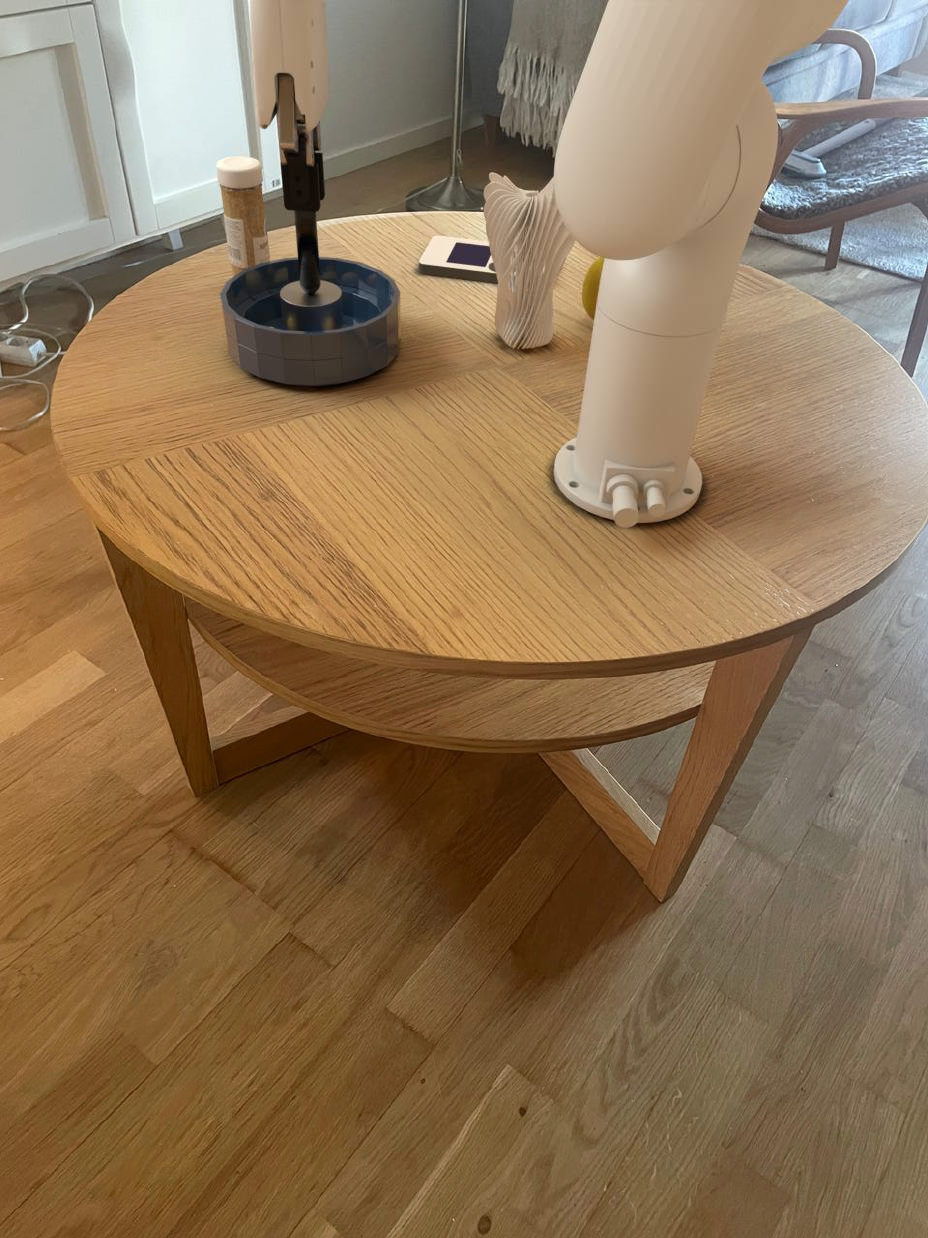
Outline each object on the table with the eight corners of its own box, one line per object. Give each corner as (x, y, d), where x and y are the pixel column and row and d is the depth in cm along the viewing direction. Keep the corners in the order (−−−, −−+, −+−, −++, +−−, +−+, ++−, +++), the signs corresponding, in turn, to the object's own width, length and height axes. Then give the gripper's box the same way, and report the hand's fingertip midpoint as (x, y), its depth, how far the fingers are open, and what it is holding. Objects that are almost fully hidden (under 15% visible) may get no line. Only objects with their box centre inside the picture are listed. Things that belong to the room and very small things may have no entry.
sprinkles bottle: (279, 294, 103) (266, 166, 93) (239, 300, 101) (222, 171, 92) (266, 278, 105) (253, 152, 96) (227, 284, 104) (210, 156, 95)
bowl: (391, 397, 88) (390, 339, 83) (211, 387, 88) (201, 328, 83) (406, 316, 100) (406, 261, 96) (248, 306, 100) (241, 251, 96)
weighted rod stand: (338, 336, 90) (329, 150, 78) (277, 333, 90) (258, 146, 78) (346, 309, 94) (338, 129, 83) (288, 306, 94) (271, 125, 83)
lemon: (626, 340, 98) (639, 266, 92) (574, 333, 99) (584, 259, 93) (630, 318, 102) (642, 245, 96) (580, 311, 103) (590, 239, 97)
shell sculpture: (469, 330, 98) (479, 148, 86) (540, 320, 101) (558, 142, 88) (499, 366, 93) (514, 179, 80) (573, 355, 95) (598, 171, 83)
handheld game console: (434, 244, 114) (434, 233, 114) (553, 258, 113) (554, 247, 112) (417, 272, 108) (417, 261, 107) (543, 289, 106) (544, 277, 105)
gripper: (259, -59, 77) (279, 172, 90) (215, -24, 66) (246, 235, 79) (348, -54, 77) (356, 176, 90) (320, -18, 66) (334, 240, 79)
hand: (305, 202), depth 84 cm, fingers closed on weighted rod stand
